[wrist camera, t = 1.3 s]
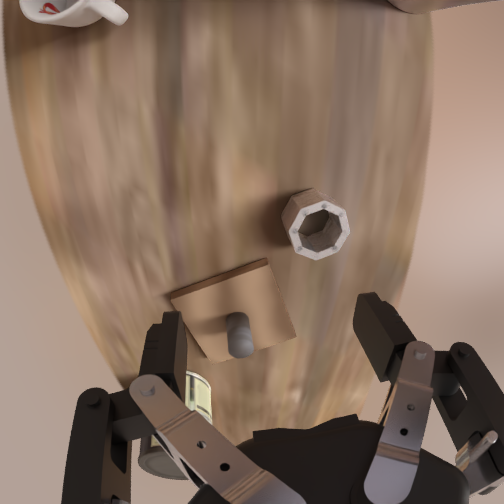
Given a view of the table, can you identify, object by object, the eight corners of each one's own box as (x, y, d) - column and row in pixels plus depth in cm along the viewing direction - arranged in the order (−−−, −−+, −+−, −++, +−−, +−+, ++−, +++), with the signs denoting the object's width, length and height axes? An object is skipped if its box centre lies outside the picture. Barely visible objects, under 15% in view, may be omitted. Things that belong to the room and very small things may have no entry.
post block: (266, 257, 36) (277, 290, 31) (294, 329, 42) (305, 364, 36) (171, 292, 37) (166, 328, 31) (212, 356, 43) (213, 392, 37)
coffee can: (171, 412, 49) (169, 484, 36) (133, 379, 44) (121, 458, 32) (223, 396, 48) (230, 473, 35) (188, 360, 43) (186, 446, 30)
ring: (327, 182, 33) (341, 194, 29) (339, 230, 36) (353, 246, 32) (275, 201, 33) (283, 215, 30) (291, 248, 36) (300, 266, 33)
